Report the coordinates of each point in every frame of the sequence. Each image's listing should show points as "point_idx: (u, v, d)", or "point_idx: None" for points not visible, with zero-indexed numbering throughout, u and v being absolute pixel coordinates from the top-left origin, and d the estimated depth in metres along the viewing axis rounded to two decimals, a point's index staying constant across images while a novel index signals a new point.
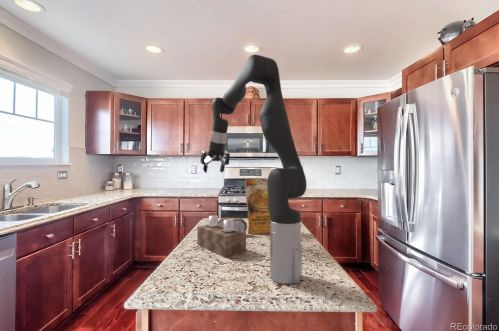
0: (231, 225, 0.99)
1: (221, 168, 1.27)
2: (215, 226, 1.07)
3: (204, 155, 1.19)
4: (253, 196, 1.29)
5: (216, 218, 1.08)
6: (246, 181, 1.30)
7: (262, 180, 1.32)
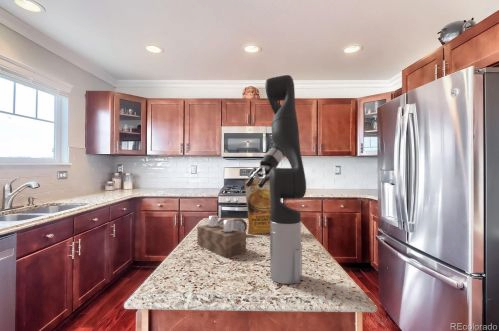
0: (231, 225, 0.99)
1: None
2: (215, 226, 1.07)
3: (252, 169, 1.18)
4: (253, 196, 1.29)
5: (216, 218, 1.08)
6: (246, 181, 1.30)
7: None
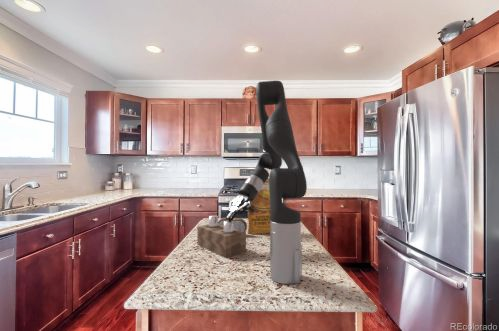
0: (231, 227, 0.99)
1: None
2: (215, 226, 1.07)
3: (230, 201, 1.08)
4: None
5: (216, 218, 1.08)
6: None
7: None
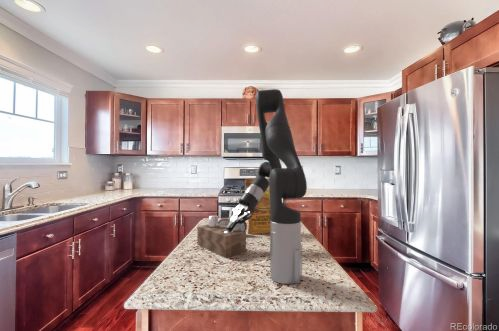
0: None
1: None
2: (215, 226, 1.07)
3: (230, 210, 1.08)
4: None
5: (216, 218, 1.08)
6: (246, 181, 1.30)
7: None
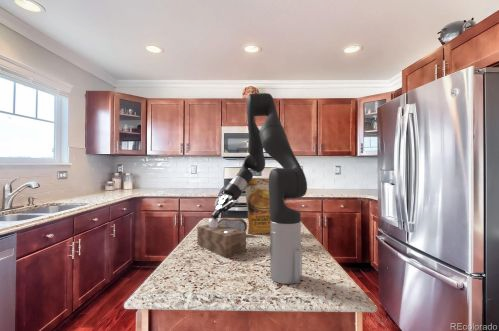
0: None
1: None
2: None
3: (216, 200, 1.16)
4: (253, 196, 1.29)
5: (216, 221, 1.08)
6: None
7: (262, 180, 1.32)
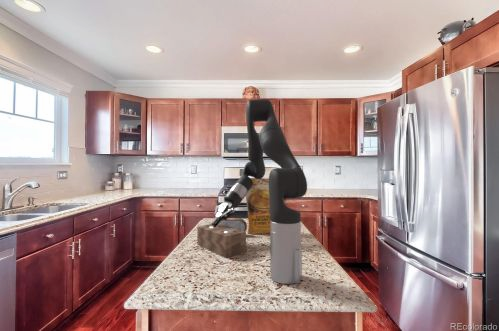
0: None
1: None
2: None
3: (216, 207, 1.16)
4: (253, 196, 1.29)
5: None
6: None
7: (262, 180, 1.32)
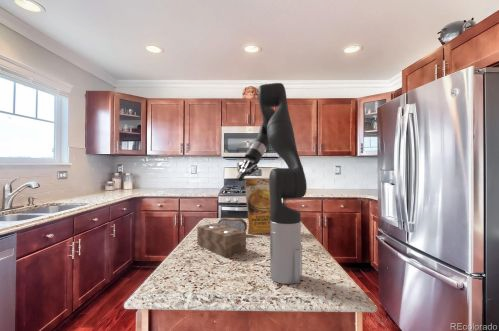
0: None
1: None
2: None
3: (237, 164, 1.22)
4: (253, 196, 1.29)
5: None
6: (246, 181, 1.30)
7: (262, 180, 1.32)
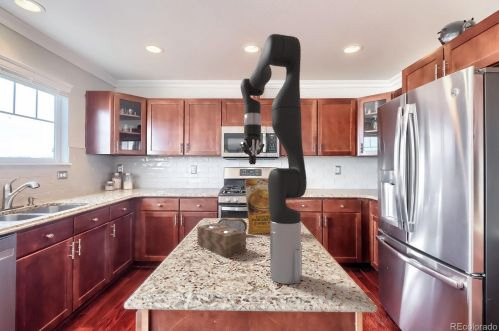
0: None
1: None
2: None
3: (245, 145, 1.06)
4: (253, 196, 1.29)
5: None
6: (246, 181, 1.30)
7: (262, 180, 1.32)
